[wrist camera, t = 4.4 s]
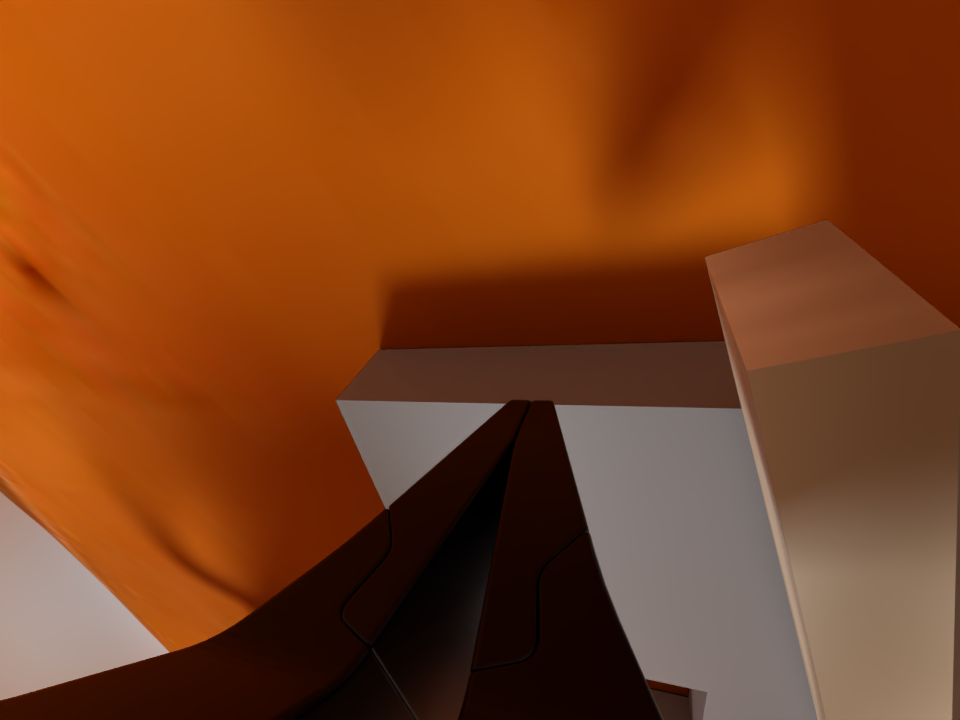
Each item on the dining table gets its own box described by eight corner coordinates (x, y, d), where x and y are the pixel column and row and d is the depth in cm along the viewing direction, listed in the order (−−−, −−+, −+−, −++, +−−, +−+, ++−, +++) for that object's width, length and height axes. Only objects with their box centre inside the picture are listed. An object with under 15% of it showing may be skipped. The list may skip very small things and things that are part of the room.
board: (1300, 326, 7) (1546, 425, 5) (911, 768, 18) (945, 855, 16) (378, 349, 13) (335, 400, 11) (497, 671, 24) (485, 726, 22)
